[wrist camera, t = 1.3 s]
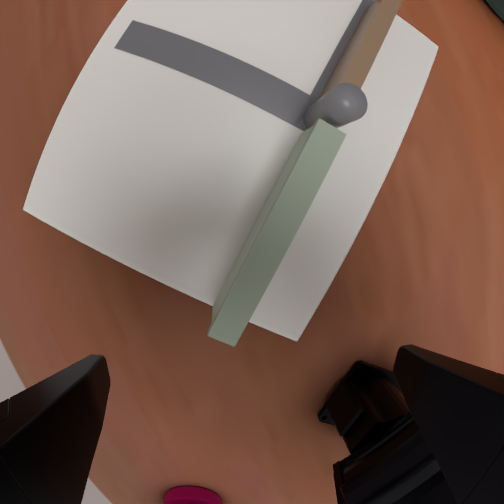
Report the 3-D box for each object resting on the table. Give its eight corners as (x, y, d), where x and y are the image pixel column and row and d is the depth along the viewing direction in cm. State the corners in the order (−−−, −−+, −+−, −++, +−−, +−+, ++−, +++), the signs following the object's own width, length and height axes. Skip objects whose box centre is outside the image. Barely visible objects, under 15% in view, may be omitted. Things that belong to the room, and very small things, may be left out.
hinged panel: (299, 130, 19) (319, 118, 15) (320, 143, 19) (346, 134, 15) (209, 305, 21) (207, 335, 17) (231, 314, 21) (234, 346, 17)
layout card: (434, 49, 19) (479, 27, 13) (295, 337, 23) (316, 384, 17) (195, -70, 15) (192, -115, 9) (27, 208, 19) (-23, 219, 13)
